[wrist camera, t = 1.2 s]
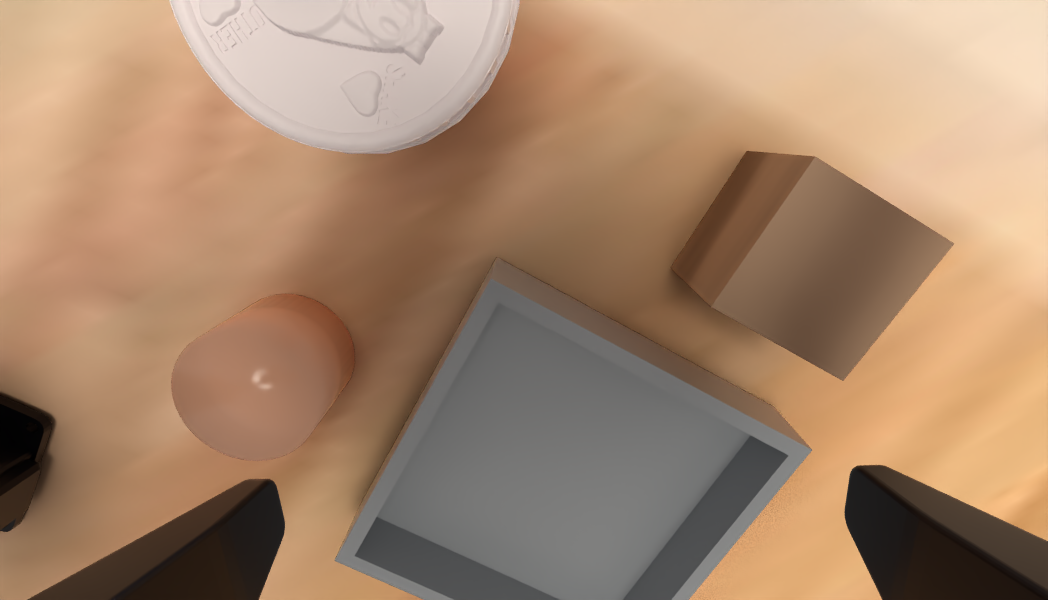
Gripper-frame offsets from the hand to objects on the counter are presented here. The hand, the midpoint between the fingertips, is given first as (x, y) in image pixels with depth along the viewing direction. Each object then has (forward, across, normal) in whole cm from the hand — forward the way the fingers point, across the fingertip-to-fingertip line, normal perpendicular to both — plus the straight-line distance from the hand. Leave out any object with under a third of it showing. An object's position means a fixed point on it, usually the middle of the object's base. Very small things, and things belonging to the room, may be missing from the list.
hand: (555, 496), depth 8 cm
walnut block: (+14, -8, -1) cm, 16 cm away
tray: (+13, 0, +8) cm, 15 cm away
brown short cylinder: (+13, +11, +3) cm, 17 cm away
